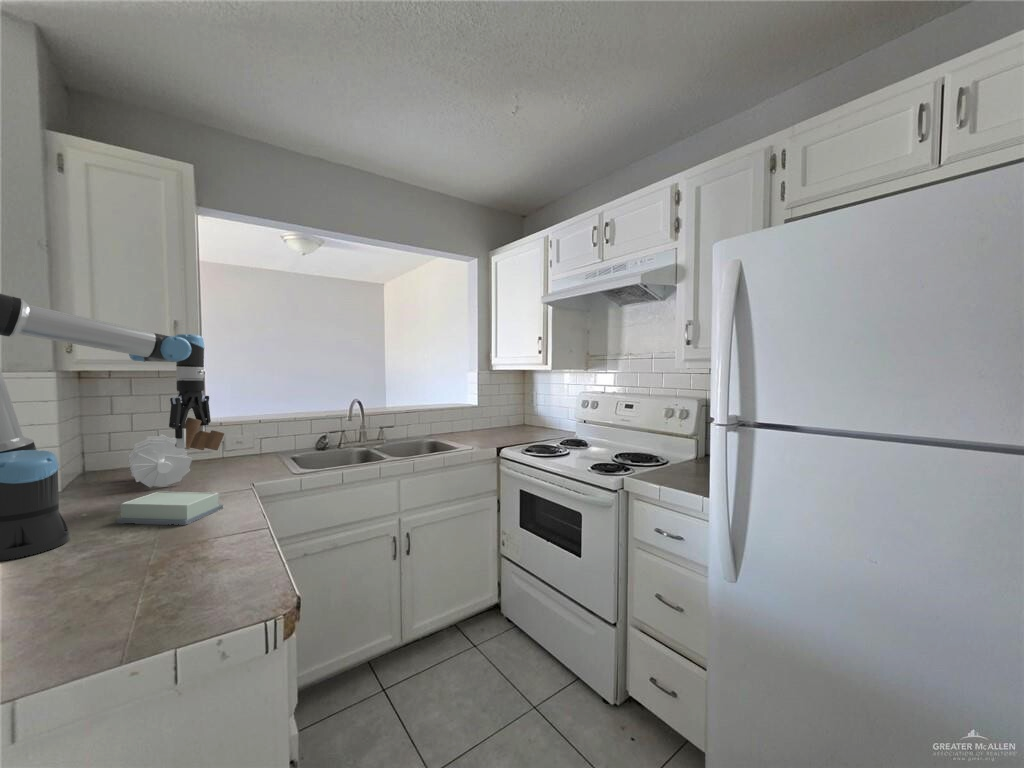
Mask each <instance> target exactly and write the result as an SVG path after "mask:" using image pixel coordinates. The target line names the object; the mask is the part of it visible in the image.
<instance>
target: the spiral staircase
mask: <svg viewBox="0 0 1024 768" xmlns="http://www.w3.org/2000/svg"><path fill="white" fill-rule="evenodd" d="M175 444H176V438H175V436H174V437H172V438H171V437H169V436H167V435H164V434H163V433H161V434H160V435H159V436H156V435H155V436H146V438H145V439H144V440H142V441H140V442H137V443H135V444H133V446H134V448H133V449H132V451H130V453H129V454H128V455H127V457H128V460H127V462H129V469H130V470H129V472H131V477H134V479H135V482H136V483H138V482H140V483H142V484H144V485H145V486H146V487H148V488H149V489H151V488H152V487H161V488H164V487H165V488H168V486H169V485H172V484H175V483H176V484H177V483H179V482H181V481H182V478H184V477H185V476H186V475H187V474H188V473H189V472H191V469H190V466H191V464H192V461H193V457H190V456H187V455H188V451H187V450H186V449H184V448H176V447H175Z"/></svg>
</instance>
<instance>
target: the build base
mask: <svg viewBox="0 0 1024 768" xmlns="http://www.w3.org/2000/svg"><path fill="white" fill-rule="evenodd" d="M222 508H223V509H224V504H220V493H218V492H198V491H197V492H196V491H195V492H193V491H192V492H191V491H190V492H189V491H156V492H153V493H150V494H146V495H144V496H140V497H137V498H133V499H132V500H128V501H124V502H121V504H120V517H118V518H115V524H124V523H135V524H134V525H165V526H166V525H167V526H169V525H170V526H172V525H171V524H174V525H173V526H187V525H186V524H188V525H190V524H192V523H194V522H196V521H195V520H197V521H198V519H199V520H201V519H203V518H205V517H207V515H208V516H209V514H210V515H212V514H214V513H217V512H218V510H219V511H220V509H221V510H223V509H222ZM216 511H217V512H216ZM211 513H212V514H211ZM202 517H203V518H202ZM200 518H201V519H200ZM193 521H194V522H193ZM191 522H192V523H191ZM189 523H190V524H189ZM168 524H169V525H168ZM178 524H179V525H178Z"/></svg>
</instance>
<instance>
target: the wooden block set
mask: <svg viewBox="0 0 1024 768" xmlns="http://www.w3.org/2000/svg"><path fill="white" fill-rule="evenodd" d="M201 422H202V421H201V420H197V419H196V418H193V417H187V418H186V421H185V425H184V428H183V429H186V448H184V449H185V450H190V449H195V450H200V451H204V450H205V449H209V450H213V451H218V450H219V448H220V446H221V443H222V441H223V438H224V437H225V432H221V431H217V430H210V432H209V431H206V432H205V431H199V432H198V433H197V431H198V429H199V426H200V424H201ZM175 447H176V444H175Z"/></svg>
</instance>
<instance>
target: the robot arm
mask: <svg viewBox="0 0 1024 768" xmlns="http://www.w3.org/2000/svg"><path fill="white" fill-rule="evenodd" d="M16 335H22V336H28V337H33V338H39V339H43V340H44V339H45V340H48V341H49V340H50V341H55V342H61V343H67V344H71V345H78V346H84V347H88V348H89V347H90V348H94V349H100V350H105V351H111V352H117V353H122V354H126V355H127V354H128V356H129V357H130V360H132V361H134V362H144V363H145V362H150V363H151V362H160V363H161V362H162V363H163V362H164V363H176V366H175V367H176V368H175V369H176V370H175V371H176V373H175V374H176V377H175V378H176V379H178V380H177V381H176V391H177V392H178V395H177V396H176V397H171V398H169V401H170V414H169V421H168V427H169V428H170V429H173V430H174V432H175V434H174V435H175V436H174V437H175V438H176V448H186V429H183V428H184V425H185V422H186V420H187V418H188V414H189V412H190V410H191V409H192V412H193V414H194V417H195V418H194V419H197V420H201V421H202V422H201V424H200V426H199V429H198V431H197V433H198V432H199V431H205V432H207V431H206V426H209V424H210V423H211V413H210V396H209V395H204V394H203V393H202V392H204V391H205V381H204V380H203V379H204V378H205V370H204V369H205V365H204V364H205V342H204V337H203V336H202V335H198V334H187V333H186V334H184V333H181V334H180V333H178V334H177V335H172V336H169V335H165V334H161V333H155V332H151V331H148V330H143V329H138V328H134V327H129V326H125V325H122V324H121V325H120V324H116V323H113V322H112V323H111V322H107V321H102V320H98V319H93V318H91V317H90V318H88V317H87V316H81V315H76V314H72V313H71V314H70V313H68V312H63V311H59V310H58V311H57V310H54V309H49V308H45V307H40V306H36V305H32V304H28V303H27V301H25V300H24V299H23V298H20V297H16V296H12V295H7V294H5V293H4V294H3V293H0V336H3V337H9V338H11V337H14V336H16ZM59 467H60V466H59V462H58V456H57V455H56V453H53V452H52V451H49V450H38V449H37V447H36V444H35V442H34V440H33V439H32V438H29V437H26V436H24V435H23V432H22V430H21V427H20V423H19V421H18V417H17V414H16V411H15V408H14V406H13V402H12V399H11V396H10V394H9V390H8V387H7V385H6V382H5V378H4V375H3V373H2V369H1V368H0V562H2V561H9V559H10V560H15V558H16V559H20V557H21V558H25V557H24V556H26V557H29V556H28V555H30V556H34V555H38V554H41V553H44V551H45V552H47V550H48V551H50V549H51V550H54V549H56V548H58V546H59V547H61V546H63V545H65V544H67V543H68V542H69V541H70V540H69V539H71V537H70V536H71V535H70V534H71V533H70V529H69V527H68V526H67V523H66V522H65V520H64V518H63V516H62V514H61V512H60V503H59V501H60V500H59V499H60V498H59ZM62 544H63V545H62ZM60 545H61V546H60ZM55 547H56V548H55ZM53 548H54V549H53ZM40 552H41V553H40ZM37 553H38V554H37ZM33 554H34V555H33Z"/></svg>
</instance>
